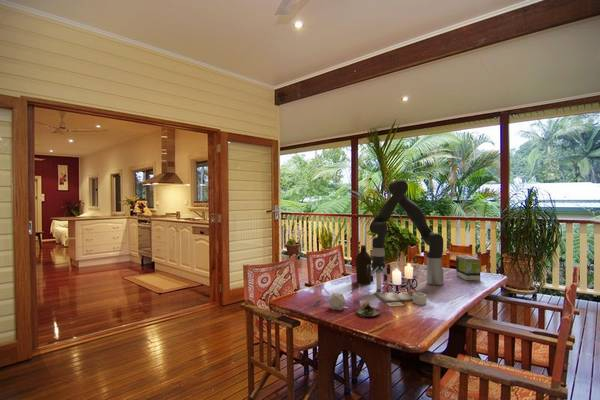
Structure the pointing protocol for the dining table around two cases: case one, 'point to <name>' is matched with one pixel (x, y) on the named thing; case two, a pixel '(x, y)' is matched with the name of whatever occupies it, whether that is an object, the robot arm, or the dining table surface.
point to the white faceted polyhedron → (337, 301)
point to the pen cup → (419, 298)
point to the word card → (395, 304)
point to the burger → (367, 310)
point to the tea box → (468, 267)
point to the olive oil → (363, 266)
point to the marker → (378, 281)
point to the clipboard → (395, 296)
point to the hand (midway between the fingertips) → (378, 281)
